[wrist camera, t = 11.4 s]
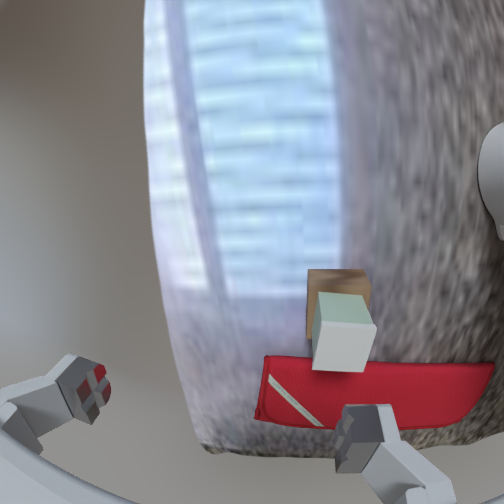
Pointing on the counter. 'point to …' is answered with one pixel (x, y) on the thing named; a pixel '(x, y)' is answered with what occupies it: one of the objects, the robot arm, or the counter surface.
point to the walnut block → (334, 288)
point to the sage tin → (341, 333)
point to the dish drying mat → (369, 392)
